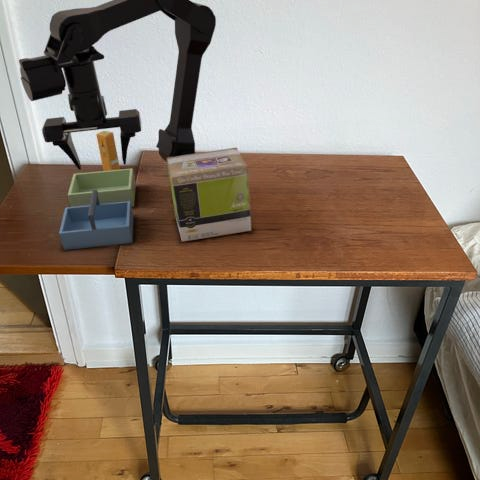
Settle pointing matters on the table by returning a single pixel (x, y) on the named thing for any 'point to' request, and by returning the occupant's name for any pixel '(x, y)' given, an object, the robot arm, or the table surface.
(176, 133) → the robot arm
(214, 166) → the tea box
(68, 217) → the blue basket
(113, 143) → the supplement box
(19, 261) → the table surface
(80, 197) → the sage basket
